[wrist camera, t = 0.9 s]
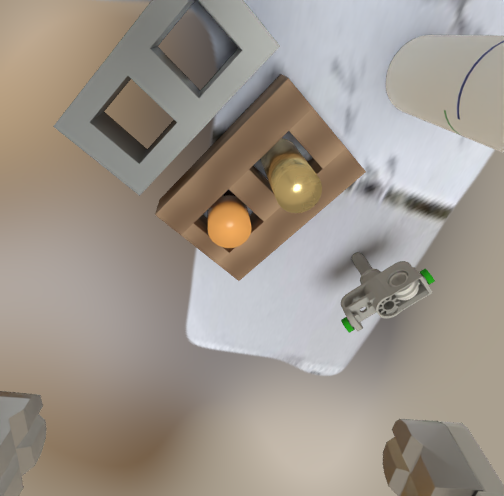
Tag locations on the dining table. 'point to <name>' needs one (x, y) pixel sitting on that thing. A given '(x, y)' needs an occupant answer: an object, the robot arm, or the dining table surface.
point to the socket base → (257, 177)
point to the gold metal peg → (291, 177)
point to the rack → (162, 88)
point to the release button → (229, 222)
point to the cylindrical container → (452, 84)
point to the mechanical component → (383, 291)
